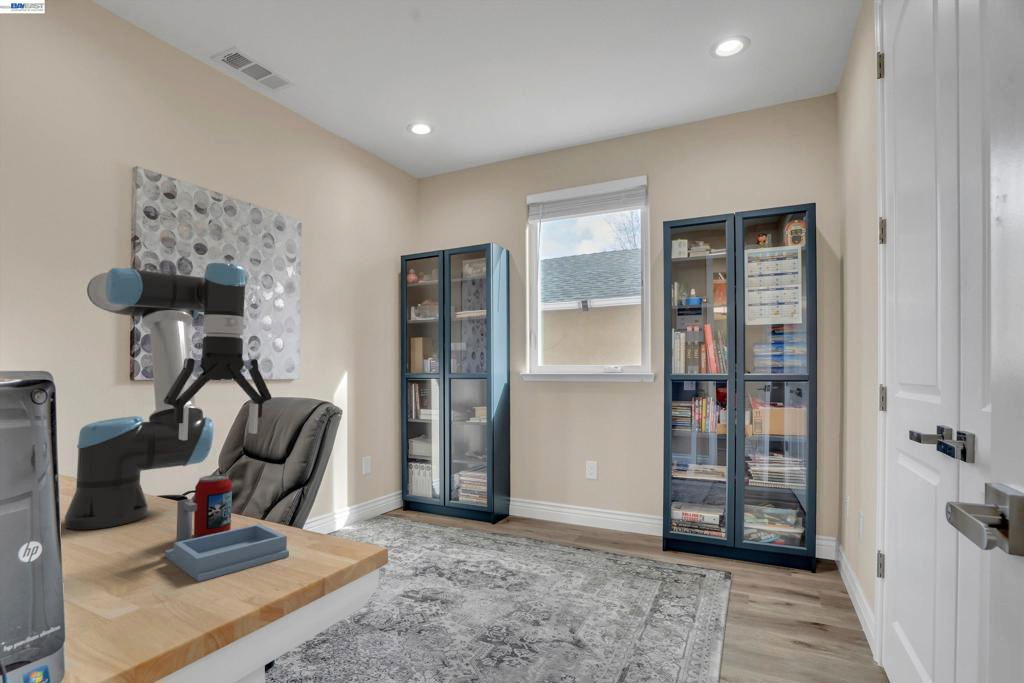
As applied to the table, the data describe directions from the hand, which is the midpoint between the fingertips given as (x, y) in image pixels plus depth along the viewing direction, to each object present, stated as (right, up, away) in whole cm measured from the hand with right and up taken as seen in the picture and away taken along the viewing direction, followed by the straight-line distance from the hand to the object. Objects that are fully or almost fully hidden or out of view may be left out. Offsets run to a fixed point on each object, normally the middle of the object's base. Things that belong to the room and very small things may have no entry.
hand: (219, 436), depth 107 cm
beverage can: (-1, -21, 0) cm, 21 cm away
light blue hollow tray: (+9, -20, -13) cm, 25 cm away
